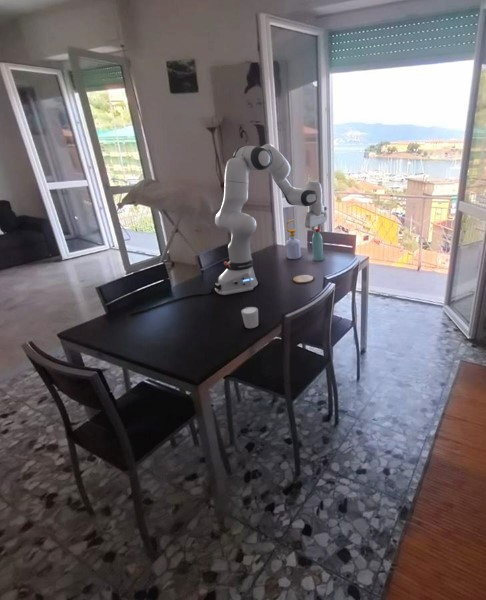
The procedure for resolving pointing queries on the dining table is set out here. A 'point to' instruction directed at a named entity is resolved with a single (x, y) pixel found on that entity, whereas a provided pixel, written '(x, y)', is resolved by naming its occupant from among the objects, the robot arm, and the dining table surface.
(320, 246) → the bottle
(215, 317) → the dining table surface
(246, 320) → the white cylinder
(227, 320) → the dining table surface
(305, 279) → the coaster
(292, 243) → the soap bottle
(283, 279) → the dining table surface
